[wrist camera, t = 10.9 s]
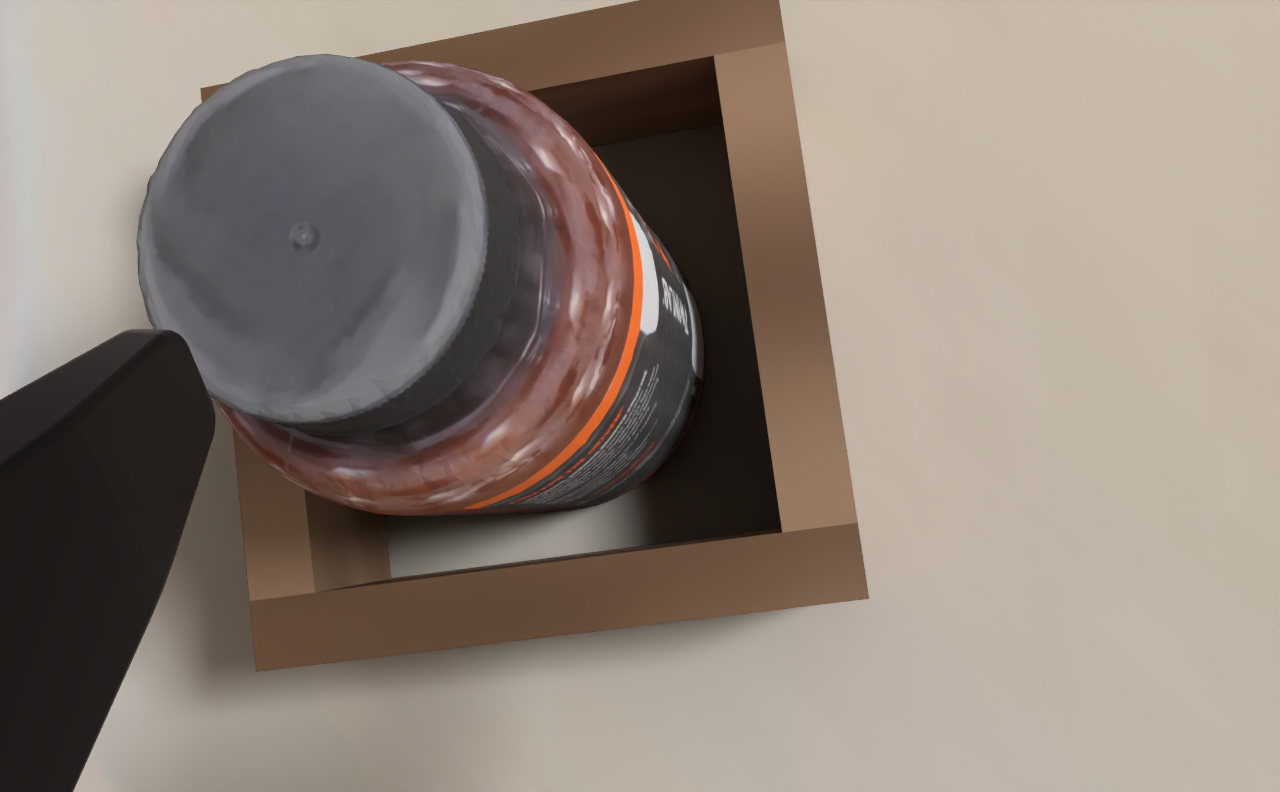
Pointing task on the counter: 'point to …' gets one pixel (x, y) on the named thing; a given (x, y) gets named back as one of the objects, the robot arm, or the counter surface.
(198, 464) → the robot arm
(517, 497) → the supplement bottle
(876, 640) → the counter surface
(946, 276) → the counter surface
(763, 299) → the socket collar
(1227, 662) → the counter surface
